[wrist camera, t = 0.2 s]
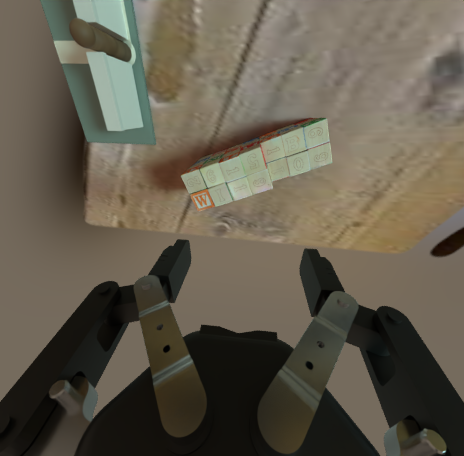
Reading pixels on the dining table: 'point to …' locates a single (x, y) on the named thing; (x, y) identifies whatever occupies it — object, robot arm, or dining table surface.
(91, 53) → the panel
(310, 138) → the stack of blocks
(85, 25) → the brown rounded rod
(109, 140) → the board
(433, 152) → the dining table surface
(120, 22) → the panel
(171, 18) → the dining table surface
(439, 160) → the dining table surface
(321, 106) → the dining table surface
